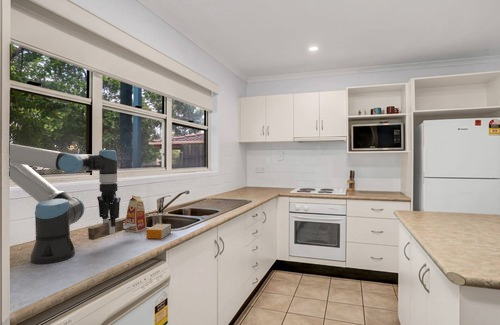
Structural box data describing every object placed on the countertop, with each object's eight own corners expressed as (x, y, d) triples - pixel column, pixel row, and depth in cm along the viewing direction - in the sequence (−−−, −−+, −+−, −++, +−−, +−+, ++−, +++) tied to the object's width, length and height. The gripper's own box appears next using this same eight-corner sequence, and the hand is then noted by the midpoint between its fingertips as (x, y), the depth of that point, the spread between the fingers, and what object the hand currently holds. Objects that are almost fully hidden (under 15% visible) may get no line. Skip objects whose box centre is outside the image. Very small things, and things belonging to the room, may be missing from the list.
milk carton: (137, 232, 160) (136, 196, 160) (123, 231, 163) (123, 195, 163) (147, 228, 169) (147, 194, 168) (134, 227, 172) (134, 193, 171)
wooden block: (95, 240, 127) (94, 229, 127) (86, 238, 130) (85, 227, 129) (137, 226, 147) (136, 217, 147) (128, 225, 150) (128, 215, 150)
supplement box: (161, 239, 146) (171, 232, 159) (161, 230, 146) (171, 223, 159) (145, 238, 147) (157, 232, 160) (145, 229, 147) (157, 223, 160)
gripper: (127, 182, 136) (128, 232, 136) (104, 181, 143) (105, 229, 144) (113, 184, 129) (114, 237, 130) (89, 183, 136) (90, 232, 137)
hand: (109, 232), depth 137 cm, fingers closed on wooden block, 3 cm apart
